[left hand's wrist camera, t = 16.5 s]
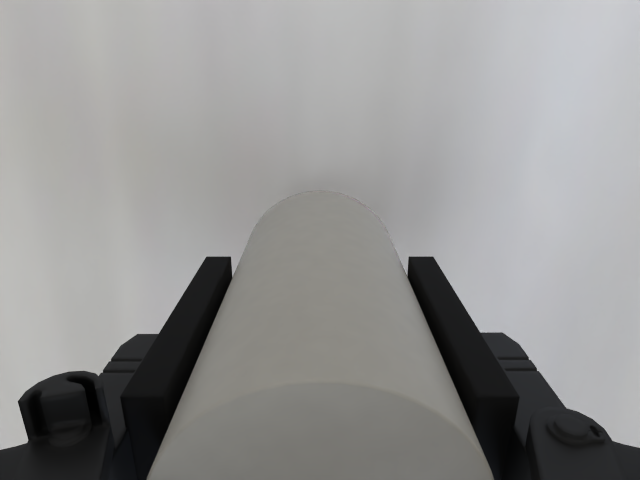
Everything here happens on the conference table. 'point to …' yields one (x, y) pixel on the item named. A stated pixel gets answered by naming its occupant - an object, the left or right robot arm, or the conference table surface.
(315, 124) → the conference table surface
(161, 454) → the cylinder
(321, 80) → the conference table surface
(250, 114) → the conference table surface
